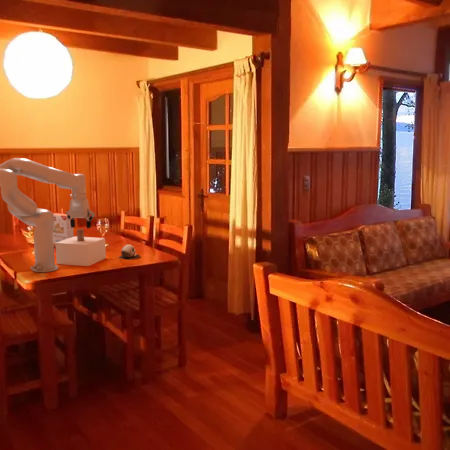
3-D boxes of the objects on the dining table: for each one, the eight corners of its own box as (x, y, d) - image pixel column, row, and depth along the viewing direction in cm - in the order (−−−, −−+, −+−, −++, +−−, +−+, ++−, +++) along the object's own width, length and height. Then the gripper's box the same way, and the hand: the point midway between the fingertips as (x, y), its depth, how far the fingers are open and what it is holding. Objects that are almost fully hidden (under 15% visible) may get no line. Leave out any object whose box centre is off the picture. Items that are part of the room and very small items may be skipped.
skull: (127, 252, 308) (136, 240, 303) (137, 265, 305) (146, 254, 300) (113, 255, 298) (121, 243, 293) (123, 269, 295) (132, 257, 290)
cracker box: (50, 247, 325) (48, 214, 322) (57, 245, 331) (56, 212, 327) (67, 249, 319) (65, 215, 315) (74, 247, 324) (73, 214, 321)
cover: (88, 266, 279) (86, 233, 276) (56, 263, 284) (54, 231, 281) (105, 258, 297) (104, 227, 294) (75, 256, 302) (74, 226, 299)
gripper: (61, 197, 283) (63, 228, 286) (89, 198, 279) (91, 229, 282) (68, 195, 290) (70, 225, 293) (96, 196, 286) (98, 227, 289)
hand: (80, 227), depth 288 cm, fingers open, 9 cm apart
